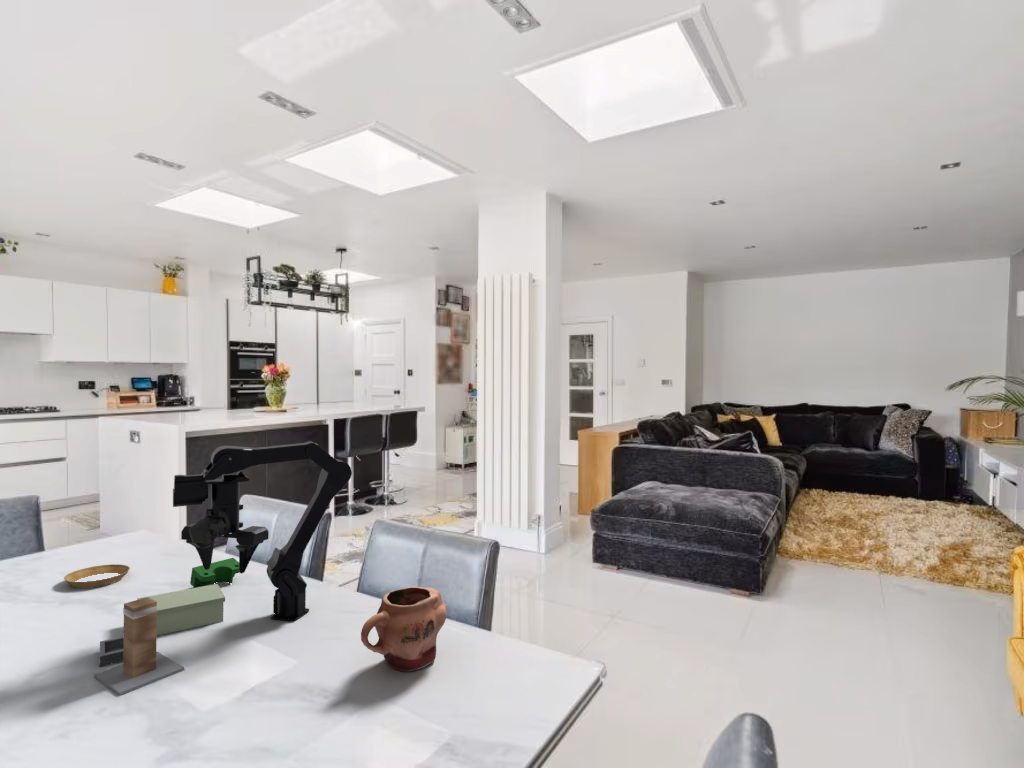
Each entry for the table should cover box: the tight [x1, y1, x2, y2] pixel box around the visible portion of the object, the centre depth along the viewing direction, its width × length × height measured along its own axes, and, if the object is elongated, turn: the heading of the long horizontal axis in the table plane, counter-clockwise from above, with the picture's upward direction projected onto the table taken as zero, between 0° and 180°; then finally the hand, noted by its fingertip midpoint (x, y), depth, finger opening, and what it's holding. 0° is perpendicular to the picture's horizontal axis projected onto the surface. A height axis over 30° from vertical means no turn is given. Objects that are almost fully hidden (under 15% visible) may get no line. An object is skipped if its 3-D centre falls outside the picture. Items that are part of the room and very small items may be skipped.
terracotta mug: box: [360, 586, 447, 672], centre depth 112 cm, size 20×12×14 cm, turn 143°
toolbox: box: [136, 583, 226, 637], centre depth 130 cm, size 17×11×6 cm, turn 126°
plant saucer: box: [63, 563, 131, 589], centre depth 155 cm, size 15×15×3 cm
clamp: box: [189, 557, 241, 588], centre depth 153 cm, size 12×6×9 cm, turn 138°
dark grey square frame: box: [99, 636, 124, 667], centre depth 115 cm, size 8×8×2 cm
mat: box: [93, 651, 185, 697], centre depth 107 cm, size 11×11×1 cm
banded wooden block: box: [122, 596, 158, 678], centre depth 107 cm, size 4×4×13 cm
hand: (224, 571), depth 127 cm, fingers open, 9 cm apart
